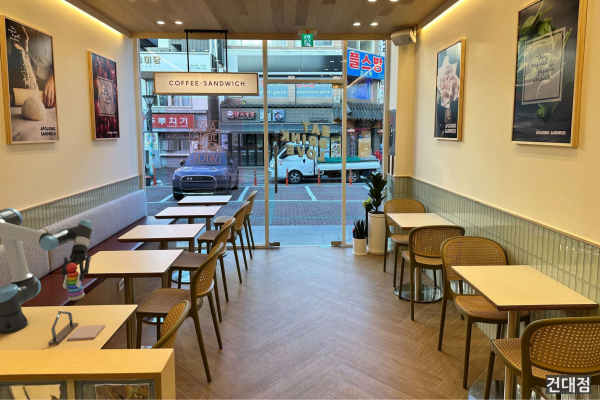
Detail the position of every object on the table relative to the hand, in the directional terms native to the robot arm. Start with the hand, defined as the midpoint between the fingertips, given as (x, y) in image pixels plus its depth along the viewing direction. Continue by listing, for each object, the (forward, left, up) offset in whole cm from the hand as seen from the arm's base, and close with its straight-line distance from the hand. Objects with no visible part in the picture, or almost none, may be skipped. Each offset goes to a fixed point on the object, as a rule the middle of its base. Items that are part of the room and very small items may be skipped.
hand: (71, 286), depth 237 cm
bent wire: (-11, -1, -28) cm, 30 cm away
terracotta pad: (0, +4, -28) cm, 28 cm away
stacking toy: (-2, +3, -8) cm, 8 cm away
